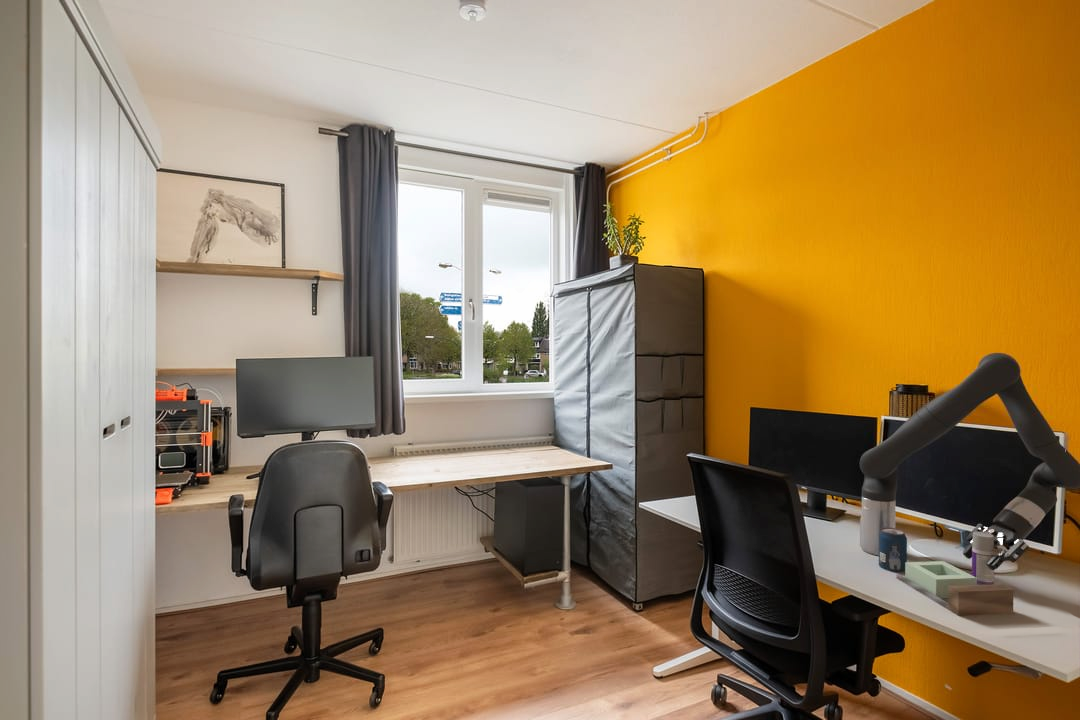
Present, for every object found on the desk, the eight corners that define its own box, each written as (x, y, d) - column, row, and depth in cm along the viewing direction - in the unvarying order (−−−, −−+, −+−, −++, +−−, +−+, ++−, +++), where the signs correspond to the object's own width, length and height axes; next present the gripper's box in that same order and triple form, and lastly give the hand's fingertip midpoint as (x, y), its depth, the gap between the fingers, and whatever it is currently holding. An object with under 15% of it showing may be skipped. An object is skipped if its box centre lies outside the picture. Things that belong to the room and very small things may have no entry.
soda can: (893, 565, 165) (894, 526, 165) (912, 575, 158) (913, 534, 158) (873, 567, 164) (873, 527, 164) (891, 577, 157) (891, 535, 157)
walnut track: (896, 581, 154) (896, 557, 154) (943, 580, 155) (944, 555, 155) (963, 623, 131) (964, 594, 131) (1019, 621, 132) (1020, 592, 132)
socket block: (905, 580, 153) (905, 562, 152) (943, 578, 153) (943, 561, 153) (935, 598, 142) (936, 579, 141) (976, 596, 142) (976, 577, 142)
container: (971, 583, 152) (972, 530, 152) (993, 588, 150) (994, 533, 149) (971, 589, 149) (972, 534, 148) (993, 594, 146) (994, 538, 145)
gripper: (986, 501, 156) (947, 543, 156) (1035, 517, 142) (991, 563, 141) (1004, 518, 157) (964, 560, 156) (1054, 536, 142) (1010, 582, 142)
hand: (977, 561), depth 149 cm, fingers open, 7 cm apart
